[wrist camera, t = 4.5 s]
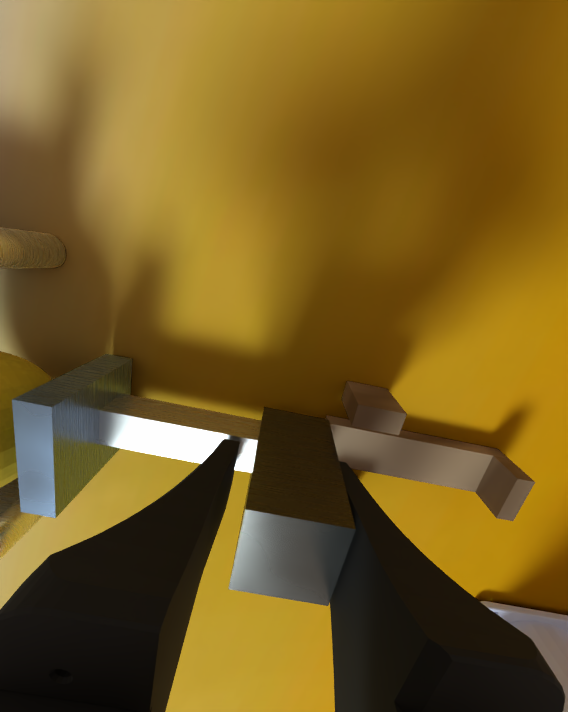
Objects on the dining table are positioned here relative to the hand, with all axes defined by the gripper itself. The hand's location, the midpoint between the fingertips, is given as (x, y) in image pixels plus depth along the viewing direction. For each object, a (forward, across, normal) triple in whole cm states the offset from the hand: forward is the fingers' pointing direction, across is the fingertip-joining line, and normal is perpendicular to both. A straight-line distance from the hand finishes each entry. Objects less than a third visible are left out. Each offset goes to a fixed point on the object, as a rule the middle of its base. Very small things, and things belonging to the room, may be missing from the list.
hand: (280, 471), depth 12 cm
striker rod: (+3, +3, 0) cm, 5 cm away
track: (+3, -6, 0) cm, 7 cm away
